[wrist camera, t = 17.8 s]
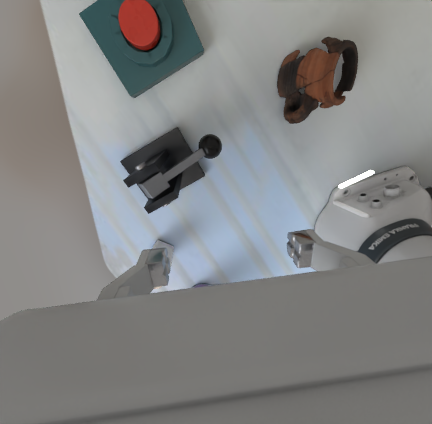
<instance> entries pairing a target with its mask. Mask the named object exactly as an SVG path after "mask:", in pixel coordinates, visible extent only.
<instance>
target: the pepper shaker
mask: <svg viewBox="0 0 432 424" xmlns="http://www.w3.org/2000/svg"><path fill="white" fill-rule="evenodd" d="M165 247H166V248H167V251H168V256H167V257H168V258H169V259H170V267H171V264H172V258H173V251H174V247H173V246H172V245H169V244H167V243H164V242H162V241H160V240H158V241H156V242H155V244H154V246H153V248H152V249H156V248H165ZM161 287H162V286H160V287H154V289H158V288H161Z"/></svg>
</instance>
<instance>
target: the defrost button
mask: <svg viewBox="0 0 432 424" xmlns="http://www.w3.org/2000/svg"><path fill="white" fill-rule="evenodd" d="M119 25H120V28H121V30H122V32H123V34H124V36H125V37H126V38H127V39H128V41H129V42H130V43H131V44H132V45H133V46H134V47H136V48H138V49H140V50H149V49H152V48H153V47H154V46H155V45H156V44H157V42H158V40H159V37H160V25H159V21H158V18H157V16H156V13H155V11H154V9H153V8H152V6H151V5H150V4H149V3H148V2H147V1H146V0H125V1H124V2H123V3H122V5H121V7H120V10H119Z"/></svg>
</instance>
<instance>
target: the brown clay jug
mask: <svg viewBox="0 0 432 424" xmlns="http://www.w3.org/2000/svg"><path fill="white" fill-rule="evenodd" d="M321 42H322V43H323V44H326V46H327V48H328V53H327V52H326V51H323V50H321V49H319V48H315V49H312V50H310V51H309V52H308V53H307V54H306V56H304V55H303V56H301V57H299V58H297V56H298V54H299V53H300V51H299V50H296V51H294V52H293V53H291V54H290V55H288V56H287V57H286V58H285V59H284V61H283V63H282V65H281V68H280V71H279V75H278V82H277V84H278V85H277V87H278V93H279V96H280V97H285V98H286V100H285V107H284V117H285V119H286V120H287V121H288V122H289V123H290V124H293V123H300V122H302V121H303V120H305V119H306V118H307V117H308V115H309V114H310V113H311V111H313V110H315V109H316V108H317V107H318V102H322V103H321V104H320V107H321V108H329V107H332V106H333V105H336V106H337V105H340V104H342V103H343V102H344V101H345V98H346V97H345V96H342V94H343V92H344V91H350V90H351V89H352V87H353V85H354V81H355V78H356V74H357V66H358V65H357V64H358V51H357V47H356V45H355V43H354V42H353V41H350V40H343V41H340V40H339V39H337V38H330V37H327V38H324V39H323V40H322V41H321ZM341 53H342V57H343V60H344V63H343V65H342V76H341V80H340V82H339V84H338V86H337V89H336V90H335V92H334V90H333V79H334V70H335V68H336V64H337V62H338V59H339V57H340V55H341ZM296 58H297V59H296ZM304 87H305V90H304V92H305V93H304V94H301V93H300V92H299V90H300V89H302V88H304Z"/></svg>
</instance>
